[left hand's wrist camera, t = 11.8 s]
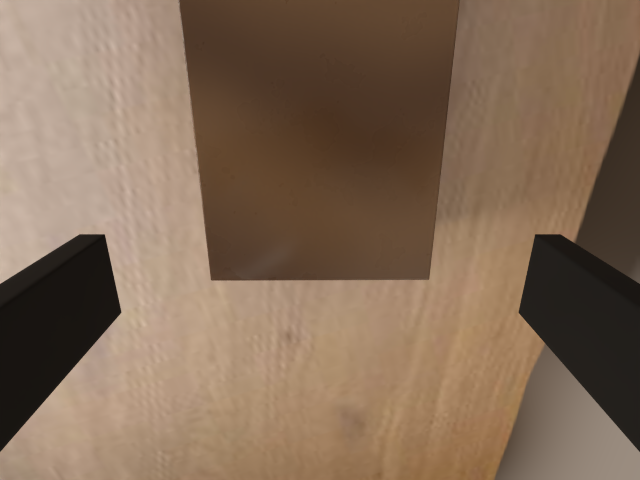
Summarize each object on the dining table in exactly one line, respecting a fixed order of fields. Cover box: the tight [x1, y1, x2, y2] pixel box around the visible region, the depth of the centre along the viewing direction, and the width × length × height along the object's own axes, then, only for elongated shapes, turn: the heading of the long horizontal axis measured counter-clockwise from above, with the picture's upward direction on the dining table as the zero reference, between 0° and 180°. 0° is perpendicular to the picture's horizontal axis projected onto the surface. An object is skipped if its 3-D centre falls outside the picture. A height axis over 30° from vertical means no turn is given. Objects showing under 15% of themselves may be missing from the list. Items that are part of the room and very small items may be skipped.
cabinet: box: [179, 0, 460, 280], centre depth 21 cm, size 20×11×8 cm, turn 0°
